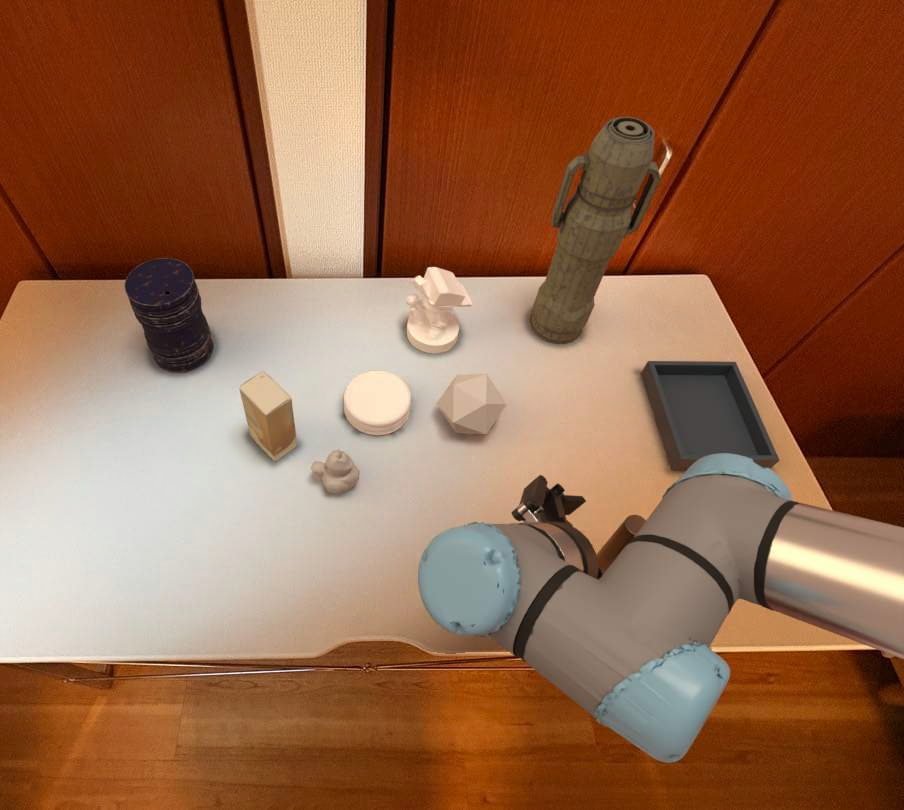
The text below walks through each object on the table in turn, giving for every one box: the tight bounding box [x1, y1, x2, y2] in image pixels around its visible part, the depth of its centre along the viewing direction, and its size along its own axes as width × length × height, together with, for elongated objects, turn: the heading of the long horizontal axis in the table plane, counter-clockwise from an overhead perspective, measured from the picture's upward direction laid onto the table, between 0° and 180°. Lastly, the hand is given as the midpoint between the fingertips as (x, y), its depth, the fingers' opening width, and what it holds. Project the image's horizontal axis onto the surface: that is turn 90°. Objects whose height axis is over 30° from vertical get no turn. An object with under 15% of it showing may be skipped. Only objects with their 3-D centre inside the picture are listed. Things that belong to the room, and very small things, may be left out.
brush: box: [596, 514, 647, 570], centre depth 70 cm, size 7×5×18 cm
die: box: [436, 373, 508, 435], centre depth 89 cm, size 8×9×10 cm
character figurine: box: [405, 266, 473, 355], centre depth 97 cm, size 9×10×12 cm
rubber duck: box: [310, 449, 360, 494], centre depth 82 cm, size 5×7×8 cm
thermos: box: [529, 116, 662, 345], centre depth 89 cm, size 9×12×35 cm
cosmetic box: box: [238, 370, 298, 462], centre depth 84 cm, size 6×4×12 cm
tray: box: [640, 360, 781, 471], centre depth 91 cm, size 18×14×3 cm
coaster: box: [343, 369, 412, 436], centre depth 91 cm, size 10×10×4 cm
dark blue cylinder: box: [124, 257, 214, 374], centre depth 93 cm, size 10×10×15 cm
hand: (614, 553), depth 70 cm, fingers open, 13 cm apart
